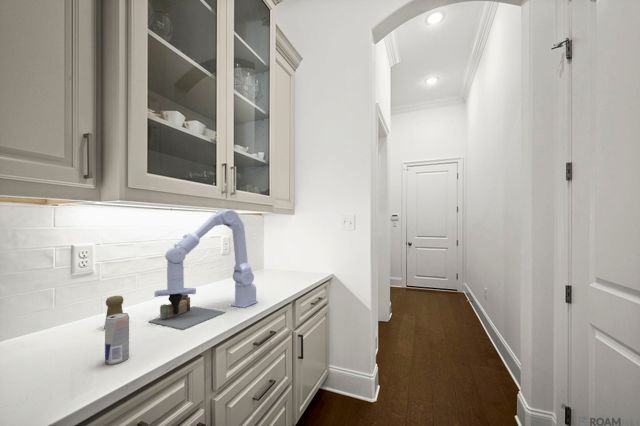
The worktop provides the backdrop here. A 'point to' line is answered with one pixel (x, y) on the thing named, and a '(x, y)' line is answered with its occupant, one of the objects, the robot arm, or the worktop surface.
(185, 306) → the gate
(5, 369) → the worktop surface
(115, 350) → the energy drink
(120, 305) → the cork
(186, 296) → the hinge post
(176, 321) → the mat
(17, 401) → the worktop surface
